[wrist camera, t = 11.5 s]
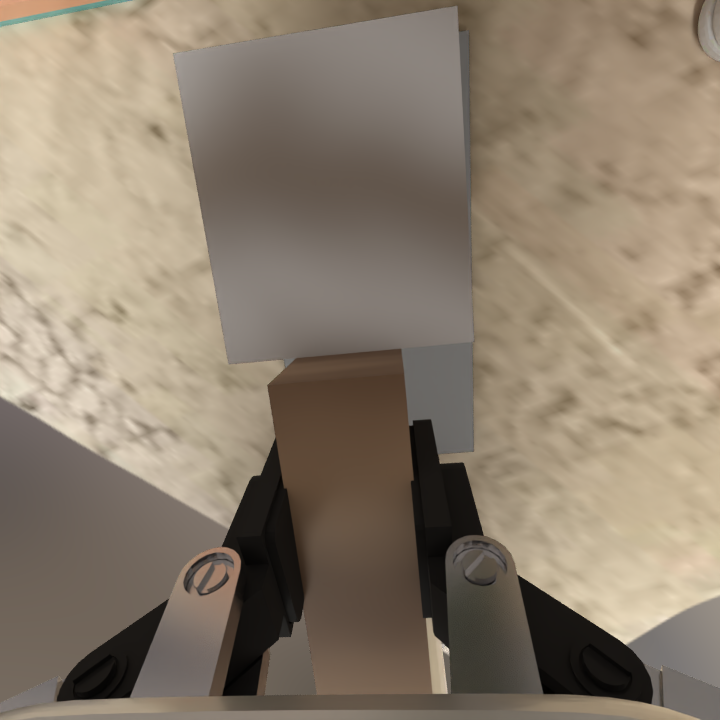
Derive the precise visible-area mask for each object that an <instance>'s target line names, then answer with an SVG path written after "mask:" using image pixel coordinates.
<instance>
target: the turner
mask: <svg viewBox="0 0 720 720" xmlns="http://www.w3.org/2000/svg"><path fill="white" fill-rule="evenodd" d="M173 56H174V62H175V67H176V73H177V78H178V84H179V90H180V95H181V101H182V106H183V112H184V118H185V123H186V129H187V134H188V140H189V146H190V151H191V157H192V162H193V168H194V173H195V179H196V185H197V190H198V196H199V201H200V207H201V213H202V218H203V224H204V229H205V235H206V241H207V246H208V252H209V257H210V263H211V268H212V274H213V280H214V285H215V291H216V296H217V302H218V308H219V313H220V319H221V324H222V330H223V335H224V341H225V347H226V352H227V358H228V363H229V364H238V363H249V362H260V361H271V360H282V359H293V358H296V359H295V360H294V361H293V362H292V363H290V364H289V365H288V366H287V367H286V368H285V369H284V370H283V371H282V372H281V373H280V374H279V375H278V376H277V377H276V378H275V379H274V380H273V381H272V382H271V383H269V384H268V385H267V386H268V392H269V398H270V404H271V410H272V417H273V423H274V429H275V435H276V442H277V448H278V454H279V460H280V466H281V473H282V479H283V485H284V488H287V492H288V498H289V505H290V511H291V517H292V523H293V530H294V536H295V542H296V548H297V555H298V561H299V567H300V574H301V580H302V586H303V592H304V605H303V610H304V616H305V622H306V628H307V635H308V641H309V647H310V653H311V660H312V666H313V672H314V678H315V684H316V690H317V695H350V694H432V682H431V671H430V660H429V648H428V637H427V626H426V618H423V614H422V603H421V591H420V580H419V569H418V558H417V547H416V536H415V525H414V514H413V502H412V491H411V481H414V478H413V467H412V455H411V444H410V433H409V421H408V410H407V399H406V387H405V376H404V367H403V359H402V350H401V349H402V348H413V347H424V346H435V345H446V344H457V343H467V342H474V323H473V304H472V284H471V264H470V244H469V225H468V205H467V185H466V165H465V146H464V126H463V106H462V86H461V67H460V47H459V27H458V7H457V6H452V7H446V8H440V9H435V10H429V11H423V12H417V13H411V14H405V15H399V16H393V17H387V18H381V19H375V20H369V21H363V22H357V23H351V24H345V25H339V26H333V27H328V28H322V29H316V30H310V31H304V32H298V33H292V34H286V35H280V36H274V37H268V38H262V39H256V40H250V41H244V42H238V43H232V44H226V45H220V46H215V47H209V48H203V49H197V50H191V51H185V52H179V53H173Z"/></svg>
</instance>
